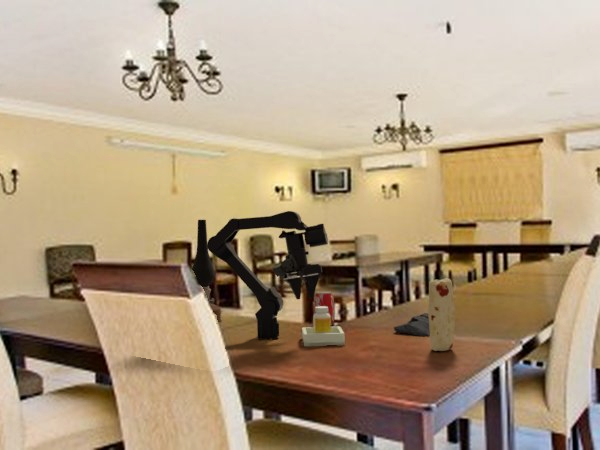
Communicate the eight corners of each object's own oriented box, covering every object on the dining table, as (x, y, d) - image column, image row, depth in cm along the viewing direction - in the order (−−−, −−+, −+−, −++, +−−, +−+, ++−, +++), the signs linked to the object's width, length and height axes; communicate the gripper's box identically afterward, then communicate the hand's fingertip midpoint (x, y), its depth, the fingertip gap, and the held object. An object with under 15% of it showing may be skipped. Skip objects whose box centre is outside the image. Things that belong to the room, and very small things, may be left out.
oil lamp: (205, 335, 199) (210, 228, 192) (174, 325, 207) (178, 221, 200) (228, 324, 211) (234, 223, 204) (198, 315, 219) (203, 217, 211)
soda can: (332, 327, 191) (331, 293, 191) (312, 327, 193) (312, 293, 193) (335, 324, 198) (334, 291, 198) (316, 323, 199) (315, 290, 200)
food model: (447, 354, 146) (445, 280, 146) (423, 352, 150) (422, 279, 150) (459, 348, 154) (458, 277, 154) (437, 345, 157) (435, 276, 158)
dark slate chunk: (385, 334, 179) (385, 320, 179) (413, 324, 196) (413, 311, 197) (429, 339, 170) (429, 323, 170) (455, 328, 187) (454, 314, 188)
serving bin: (304, 346, 160) (303, 334, 160) (302, 338, 172) (302, 327, 172) (344, 345, 160) (344, 333, 160) (340, 337, 172) (339, 326, 172)
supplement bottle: (310, 338, 167) (309, 306, 168) (325, 336, 170) (324, 305, 170) (318, 340, 163) (317, 308, 163) (334, 339, 165) (333, 307, 165)
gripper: (262, 256, 178) (270, 304, 176) (286, 250, 161) (294, 302, 160) (292, 251, 183) (300, 298, 181) (318, 245, 166) (327, 296, 165)
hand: (304, 298), depth 172 cm, fingers open, 9 cm apart
